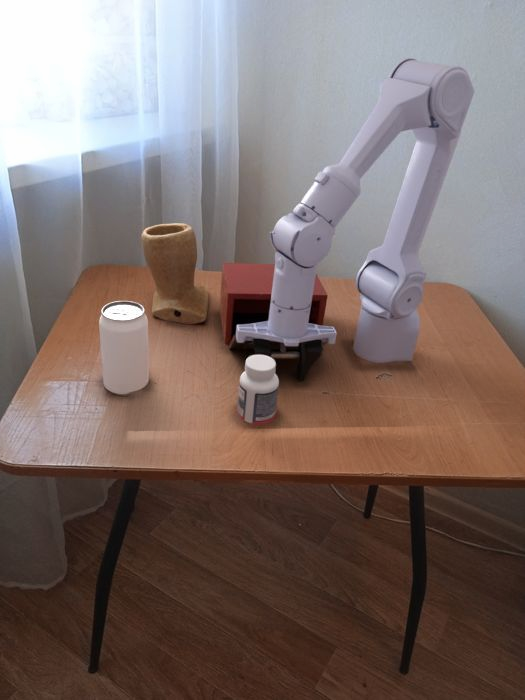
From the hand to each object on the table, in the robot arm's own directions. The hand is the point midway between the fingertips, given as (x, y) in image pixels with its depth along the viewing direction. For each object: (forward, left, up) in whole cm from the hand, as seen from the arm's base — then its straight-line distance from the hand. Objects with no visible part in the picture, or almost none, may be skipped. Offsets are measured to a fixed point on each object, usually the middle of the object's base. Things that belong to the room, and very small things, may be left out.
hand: (279, 382), depth 85 cm
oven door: (0, -8, 0) cm, 8 cm away
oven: (0, -15, 0) cm, 16 cm away
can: (+23, +1, 0) cm, 23 cm away
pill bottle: (+5, +9, 0) cm, 10 cm away
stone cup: (+16, -23, 0) cm, 28 cm away
